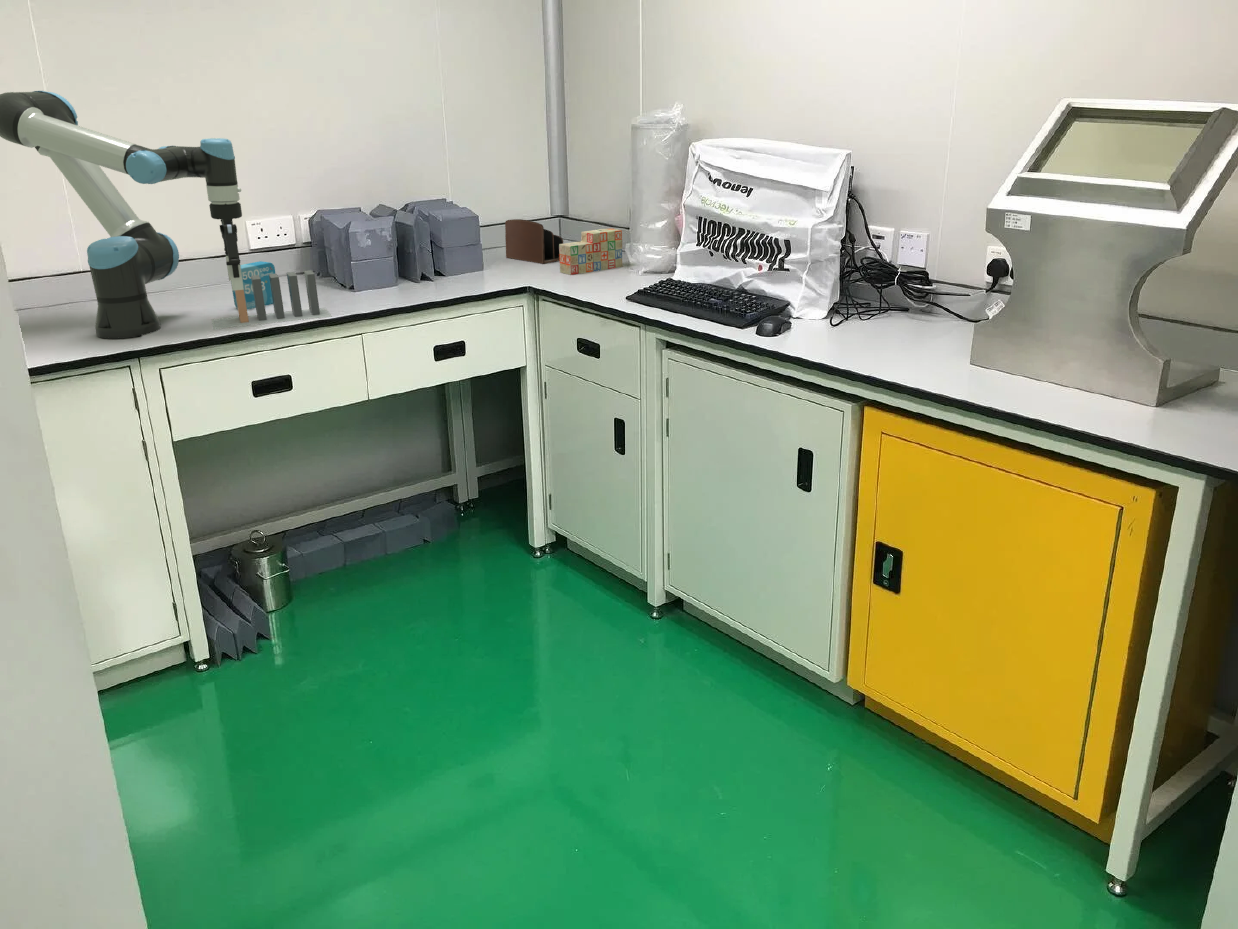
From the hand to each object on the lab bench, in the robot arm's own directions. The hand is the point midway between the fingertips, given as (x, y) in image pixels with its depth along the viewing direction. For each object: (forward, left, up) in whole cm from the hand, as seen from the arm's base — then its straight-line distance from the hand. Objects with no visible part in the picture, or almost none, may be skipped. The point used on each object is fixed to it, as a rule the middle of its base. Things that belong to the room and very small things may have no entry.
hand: (236, 284), depth 259 cm
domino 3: (+10, 0, -9) cm, 14 cm away
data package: (+5, +18, -10) cm, 21 cm away
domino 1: (0, 0, -9) cm, 9 cm away
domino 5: (+19, 0, -9) cm, 21 cm away
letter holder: (+100, +52, -10) cm, 113 cm away
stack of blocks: (+110, +23, -10) cm, 113 cm away
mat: (+7, -1, -10) cm, 12 cm away
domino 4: (+14, 0, -9) cm, 17 cm away
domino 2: (+5, 0, -9) cm, 11 cm away
